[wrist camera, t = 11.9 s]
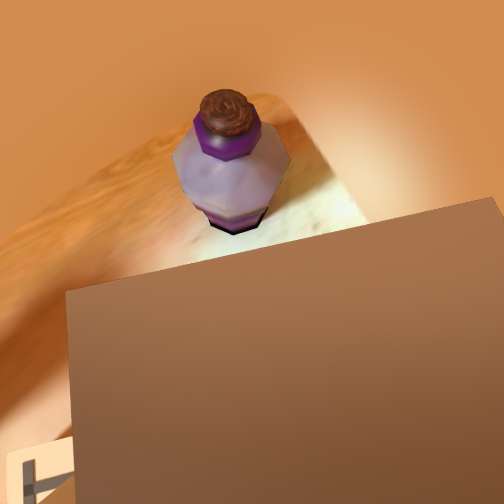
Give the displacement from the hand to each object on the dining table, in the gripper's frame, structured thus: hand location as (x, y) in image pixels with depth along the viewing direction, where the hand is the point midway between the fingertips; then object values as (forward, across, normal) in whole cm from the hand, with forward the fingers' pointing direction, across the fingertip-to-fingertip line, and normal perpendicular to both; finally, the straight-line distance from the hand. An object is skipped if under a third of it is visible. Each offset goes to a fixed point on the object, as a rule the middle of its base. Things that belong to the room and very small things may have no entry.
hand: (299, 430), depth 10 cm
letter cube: (+14, +13, +16) cm, 25 cm away
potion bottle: (+28, +2, +2) cm, 28 cm away
